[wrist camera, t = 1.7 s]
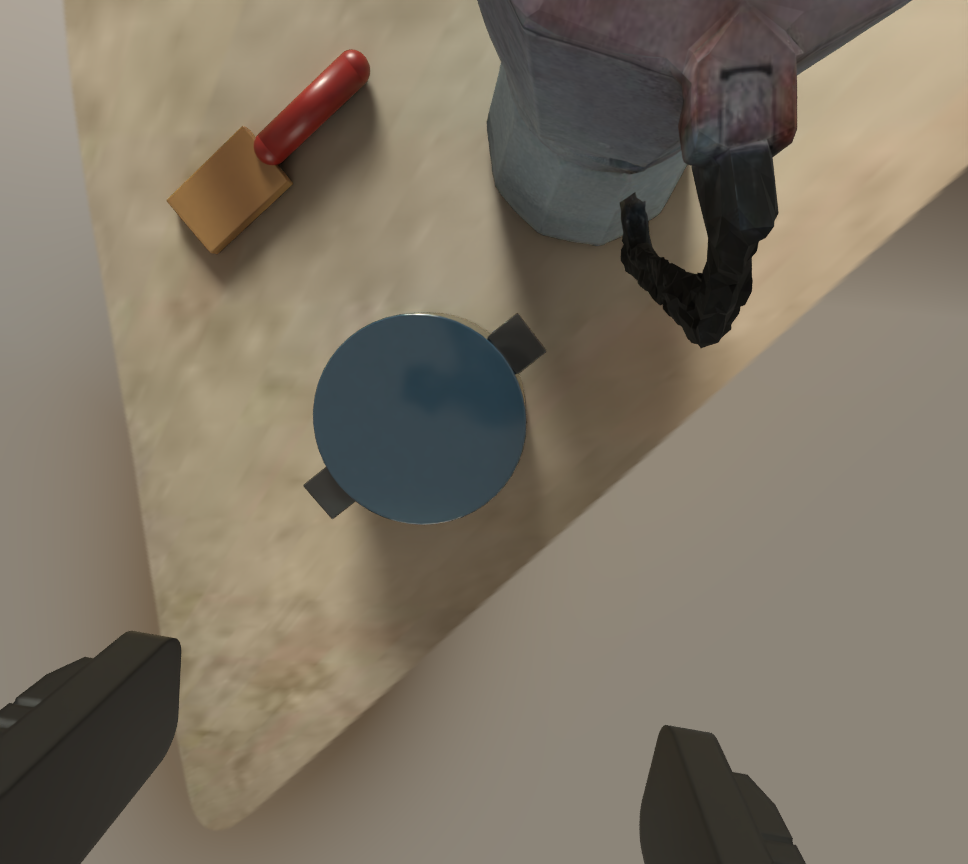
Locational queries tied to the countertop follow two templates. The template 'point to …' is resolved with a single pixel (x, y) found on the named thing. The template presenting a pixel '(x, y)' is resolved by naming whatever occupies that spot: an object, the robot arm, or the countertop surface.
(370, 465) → the pot
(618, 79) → the moka pot
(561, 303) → the countertop surface
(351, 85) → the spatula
